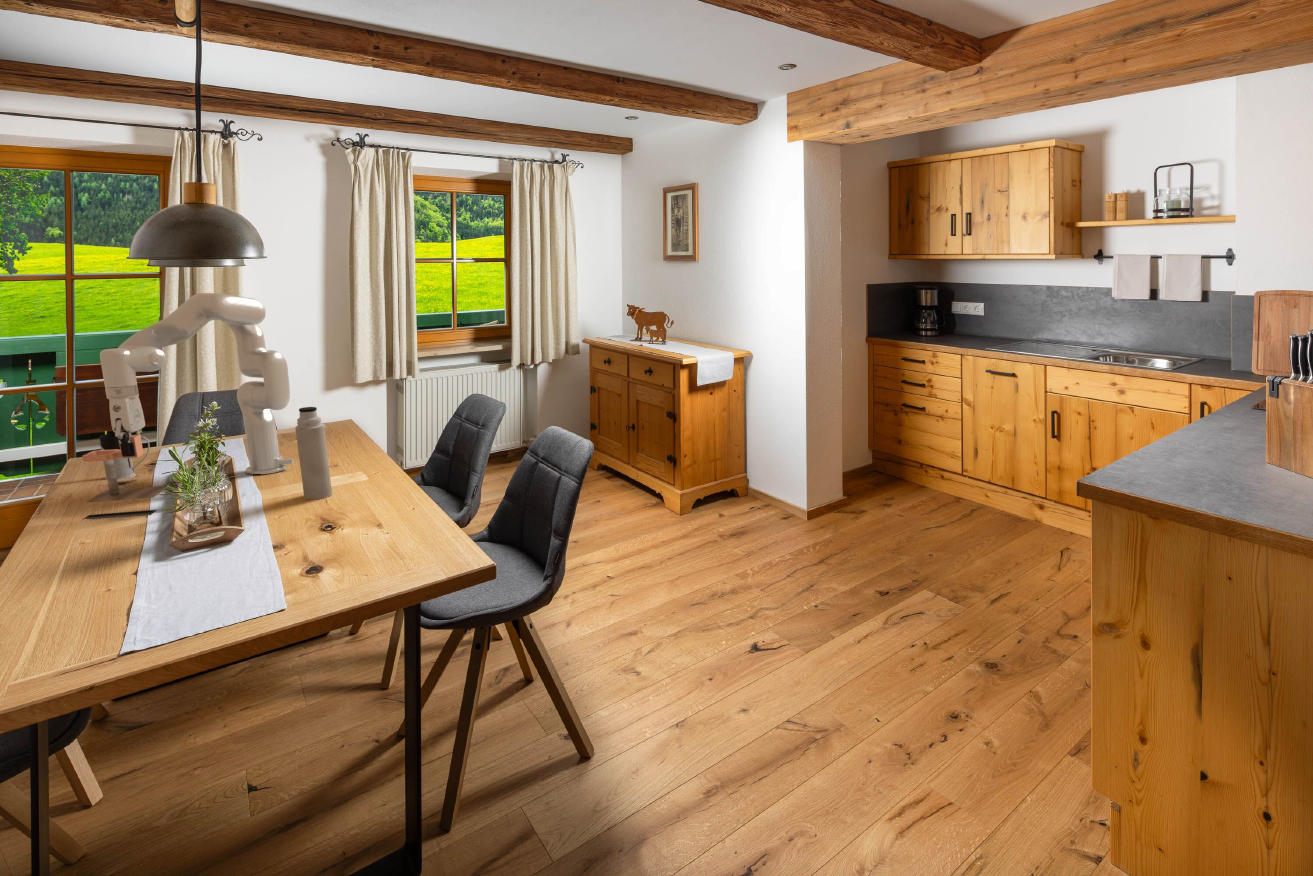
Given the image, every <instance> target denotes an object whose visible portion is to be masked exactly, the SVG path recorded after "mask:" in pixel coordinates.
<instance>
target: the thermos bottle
mask: <svg viewBox="0 0 1313 876" xmlns="http://www.w3.org/2000/svg"><path fill="white" fill-rule="evenodd" d="M317 410H318V409H317V407H316V406H306V407H300V408H299V409H298V411H299V417H298V419H297V420H296V424H297V426H295V428H294V429H295V436H296V442H297V443H296V444H297V450H298V458H299V467H300V473H301V474H300V475H301V482H302V491H303V497H304V499H306V500H321V499H325V498H329V497H330V496H332V494H333V490H332V483H331V482H332V481H331V480H332V479H331V473H330V465H329V456H328V455H329V454H328V448H327V440H326V439H327V437H326V431H325V424H324V423H322V417H320V416H319V415H318V412H317Z"/></svg>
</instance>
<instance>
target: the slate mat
mask: <svg viewBox="0 0 1313 876" xmlns="http://www.w3.org/2000/svg"><path fill="white" fill-rule="evenodd" d="M155 512H157V509H150V510H139V511H138V510H135V511H123V512H110V513H97V514H96V513H95V514H88V515H86V516H85V517H84V518H82V521H85V520H84V519H93V520H102V519H101V518H106V519H115V518H116V517H118V518H126V517H127V518H130V517H141V516H142V517H143V516H152V514H154V513H155ZM116 519H117V518H116Z"/></svg>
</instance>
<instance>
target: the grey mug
mask: <svg viewBox="0 0 1313 876" xmlns="http://www.w3.org/2000/svg"><path fill="white" fill-rule="evenodd" d="M123 435H127V434H123ZM141 439H145V440H146V442H147V451H146V454H145V455H144V457H143V458H142V459H141V460H140V461H139V462H138V463H137V464H135V466H134V463H133V460H132V459H133V458H115V459H113V461H114V467H115V472H116V477H117V480H125V479H126V480H127V479H134V478H136V477H137V474H136V473H135V469H136V468H137V466H138V465H140V464H141V463H142V462H143V461H144V460H145V459H146V458H147V457H148V455H149V453H150V445H151V444H150V441H149V439H148V438H147V437H145V436H141ZM99 446H100V450H113V449H118V450H120V445H119V439H118V438H117V437H116V436H115V432H112V433H107V434H101V435H100V436H99ZM102 462H103V463H102V464H104V461H102ZM103 467H104V469H105V466H104V465H103ZM104 471H105V470H104ZM104 473H105V474H106V471H105V472H104ZM135 476H136V477H135ZM133 477H134V478H133ZM104 480H105V481H106V480H107V477H106V476H105V478H104Z"/></svg>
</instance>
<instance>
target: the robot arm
mask: <svg viewBox="0 0 1313 876" xmlns="http://www.w3.org/2000/svg"><path fill="white" fill-rule="evenodd" d="M265 318H266V309H265V306H264V305H263V304H262V302H261V301H259V300H257V299H255V298H251V297H243V296H239V295H238V296H237V295H233V294H227V293H219V292H215V293H214V292H213V293H211V292H201V293H200V292H199V293H196V294H194V295H192V296H190V297H189V298H188V299H187V300H186V301H184V302H183V303H181V304H180V305H179V307H177V308H176V309H175V310H174V311H172V312H171V313H170V314H169V315H168V316H167V317H165V318H164V319H161V320H159V321H156V322H155V323H152V324H151V325H149V326H147V327H145V328H143V329H140V330H138V331H137V332H135V333H134V334H132V335H131V336H129V337H128V338H127V339H126V340H125V341H123V342H122V343H121V344H119V346H118V347H117V348H107V349H102V350H101V351H100V353H99V358H100V359H99V360H100V365H101V371H102V378H103V383H104V388H105V389H104V390H105V395H106V399H107V400H109V401H108V403H109V414H110V415H109V416H110V422H111V423H110V425H111V429H112V431H113V433H115V436H116V437H117V438H118V439H119V443H120V446H121V452H122V456H123V457H130V456H135V449H134V443H133V442H132V438H131V435H140V436H141V430H142V429H143V428H145V426H146V420H145V416H144V411H143V407H142V404H141V400H140V397H139V396H140V394H139V389H138V381H137V380H138V379H137V374H136V373H137V372H139V373H140V372H142V373H143V372H144V373H145V372H147V373H150V372H152V373H153V372H156V371H159V370H162V368H163V367H165V365H166V361H167V355H166V353H165V352H164V351H163V350H161V349H163V348H166V347H169V346H173V345H177V344H181V343H184V342H186V341H189V340H190V339H192V338H193V337H194V335H196V334H197V333H198V332H199V331H200V330H201V329H203V328H204V327H205V326H206V325H207V324H208V323H209V322H212V321H220V322H222V323H224V325H226V326H227V327H228V328H229V329H230V330H231V331H232V333H233V335H234V338H235V341H236V342H235V343H236V351H237V352H236V353H237V362H238V368H239V371H240V373H241V374H242V375H243V376H245V377H247V378H248V377H249V378H260V379H263V381H258V380H251V381H245V382H244V383H242V384H241V385H240V386H239V387H238V389H237V391H236V400H237V403H238V406H239V408H240V411H241V413H242V417H243V423H244V431H245V432H244V433H245V438H246V445H247V454H248V460H249V466H248V467H246V468H245V473H246V474H248V473H249V474H248V475H253V474H261V475H268V474H269V475H270V474H274V473H278V472H282V471H284V470H286V468H287V465H293V464H294V461H295V460H294V459H293V458H291V457H288V458H285V457H283V455H282V454H280V449H279V441H278V431H277V426H276V425H277V424H276V419H275V416H274V414H273V412H272V411H280V410H283V409H285V408H286V407H287V406H288V404H289V402H290V399H291V391H290V378H289V368H288V363H287V360H286V357H284V356H283V354H282V353H281V352H279V351H277V350H273V349H272V350H270V349H267V348H266V342H265V335H264V332H263V330H262V328H261V326H260V325H259V324H261V323H262V322H263V321H264V319H265ZM123 434H127V436H126V435H123Z"/></svg>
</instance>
